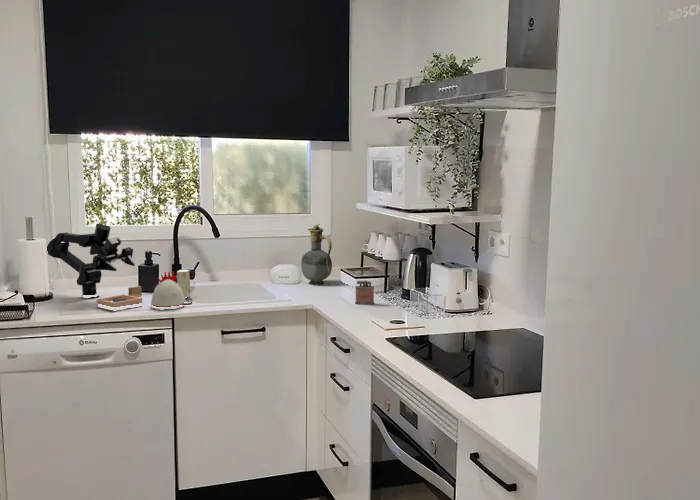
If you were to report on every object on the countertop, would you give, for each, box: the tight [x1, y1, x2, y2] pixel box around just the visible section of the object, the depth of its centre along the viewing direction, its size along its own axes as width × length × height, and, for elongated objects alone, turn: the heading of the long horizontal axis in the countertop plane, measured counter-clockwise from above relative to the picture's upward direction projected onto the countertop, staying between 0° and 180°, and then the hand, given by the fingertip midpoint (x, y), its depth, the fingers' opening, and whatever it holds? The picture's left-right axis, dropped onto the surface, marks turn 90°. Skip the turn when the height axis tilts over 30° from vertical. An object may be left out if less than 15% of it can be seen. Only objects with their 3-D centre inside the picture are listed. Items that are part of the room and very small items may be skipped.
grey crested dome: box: [150, 271, 186, 307], centre depth 280 cm, size 14×14×15 cm
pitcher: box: [300, 223, 333, 286], centre depth 328 cm, size 11×19×30 cm, turn 42°
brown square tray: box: [96, 293, 143, 307], centre depth 280 cm, size 13×13×4 cm
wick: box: [127, 285, 143, 297], centre depth 293 cm, size 2×5×6 cm, turn 141°
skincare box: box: [176, 269, 191, 298], centre depth 299 cm, size 6×4×12 cm
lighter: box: [354, 279, 375, 306], centre depth 283 cm, size 8×3×10 cm, turn 84°
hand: (125, 267), depth 285 cm, fingers open, 9 cm apart
